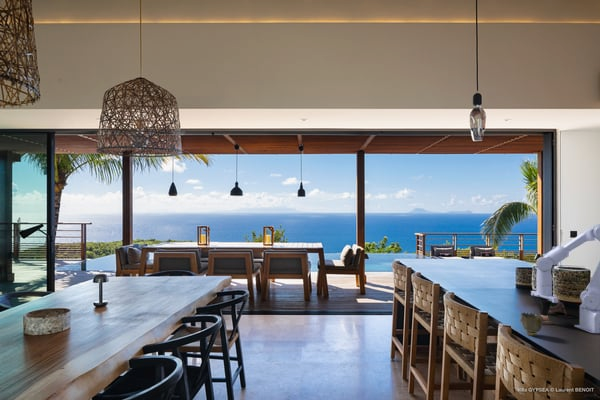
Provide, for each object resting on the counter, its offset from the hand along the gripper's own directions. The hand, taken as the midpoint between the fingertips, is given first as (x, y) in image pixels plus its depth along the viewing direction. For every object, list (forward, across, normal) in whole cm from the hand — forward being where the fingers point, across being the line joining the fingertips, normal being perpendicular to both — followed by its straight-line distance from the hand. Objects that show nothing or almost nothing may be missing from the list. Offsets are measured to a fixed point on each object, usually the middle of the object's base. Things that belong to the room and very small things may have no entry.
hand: (544, 315), depth 167 cm
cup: (+3, +16, -17) cm, 24 cm away
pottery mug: (+4, -15, +16) cm, 22 cm away
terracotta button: (+2, 0, 0) cm, 2 cm away
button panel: (+3, 0, -4) cm, 5 cm away
